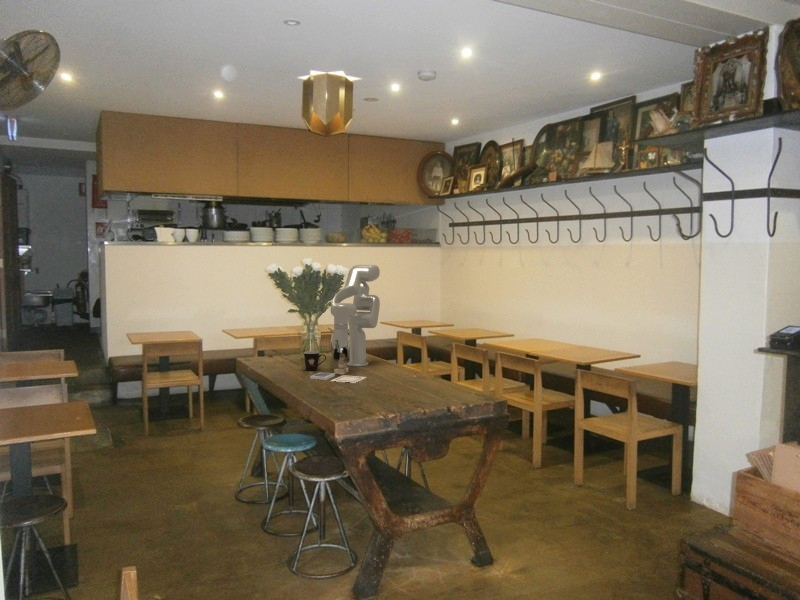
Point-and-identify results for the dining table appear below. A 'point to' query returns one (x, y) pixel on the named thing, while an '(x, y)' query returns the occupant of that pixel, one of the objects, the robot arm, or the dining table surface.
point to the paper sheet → (348, 379)
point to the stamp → (341, 366)
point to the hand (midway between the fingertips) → (340, 358)
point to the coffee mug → (312, 360)
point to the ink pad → (322, 376)
